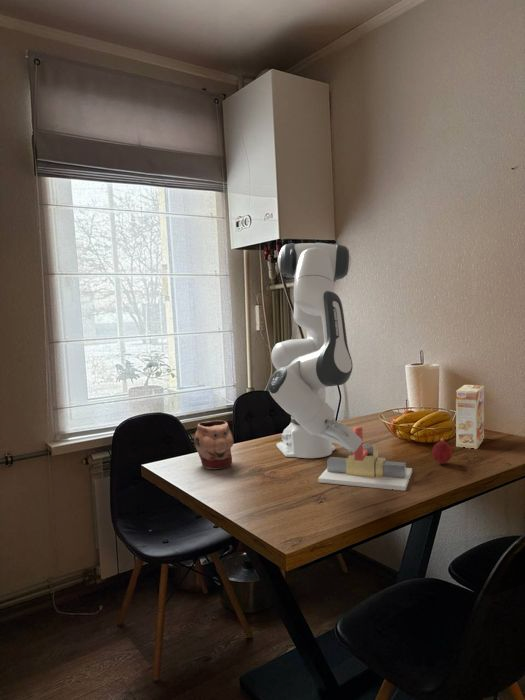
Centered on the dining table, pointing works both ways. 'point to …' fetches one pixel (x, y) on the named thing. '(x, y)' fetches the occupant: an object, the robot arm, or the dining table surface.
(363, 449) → the lever
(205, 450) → the decorative planter
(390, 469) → the valve and pipe
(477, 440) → the coffeecake box
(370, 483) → the mounting board
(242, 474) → the dining table surface
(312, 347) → the robot arm
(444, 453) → the onion
